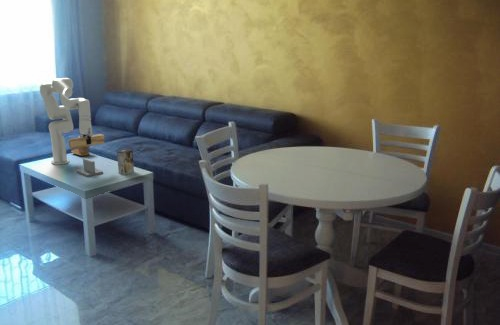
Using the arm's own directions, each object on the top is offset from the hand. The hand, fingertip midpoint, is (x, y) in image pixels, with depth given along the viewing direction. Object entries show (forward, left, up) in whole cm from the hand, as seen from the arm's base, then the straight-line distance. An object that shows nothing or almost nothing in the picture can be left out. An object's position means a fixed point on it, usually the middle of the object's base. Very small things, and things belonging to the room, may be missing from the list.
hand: (87, 143), depth 330 cm
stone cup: (-49, +20, -22) cm, 57 cm away
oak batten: (0, 0, -2) cm, 2 cm away
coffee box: (+17, +19, -22) cm, 34 cm away
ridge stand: (0, 0, -22) cm, 22 cm away
